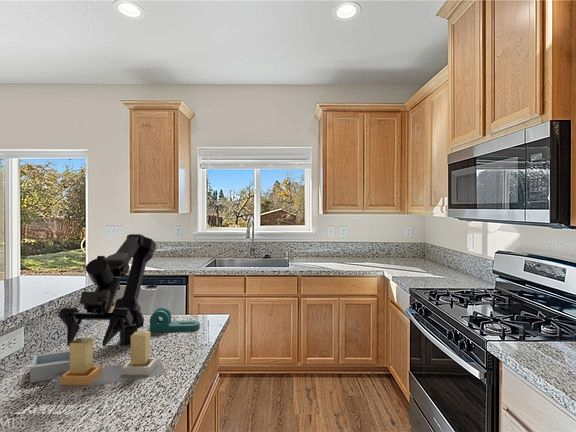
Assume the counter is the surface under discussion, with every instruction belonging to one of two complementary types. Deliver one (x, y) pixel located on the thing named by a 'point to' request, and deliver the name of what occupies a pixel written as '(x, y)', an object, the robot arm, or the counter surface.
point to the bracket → (170, 322)
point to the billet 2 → (140, 348)
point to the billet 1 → (81, 357)
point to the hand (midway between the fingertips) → (85, 345)
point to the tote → (49, 366)
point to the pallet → (108, 375)
